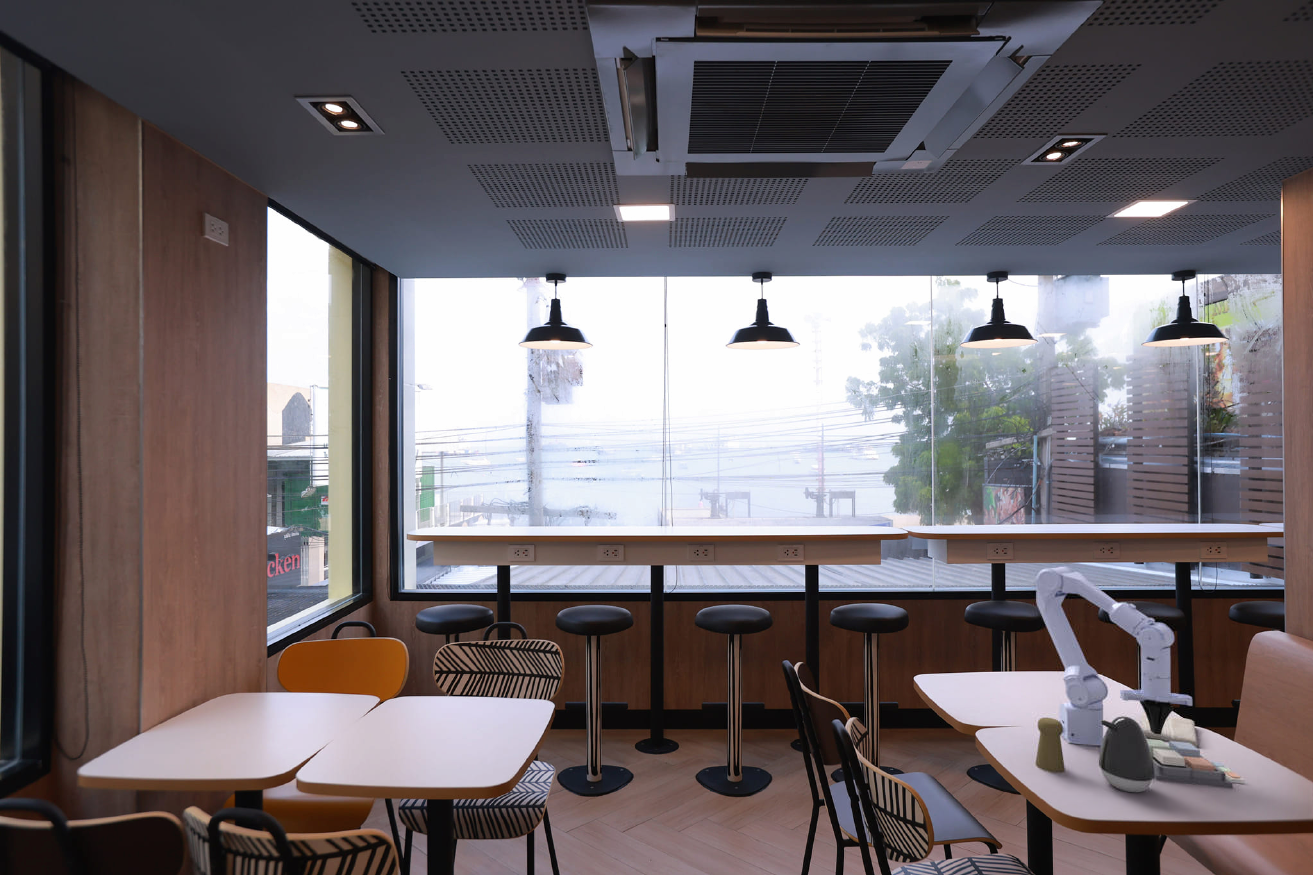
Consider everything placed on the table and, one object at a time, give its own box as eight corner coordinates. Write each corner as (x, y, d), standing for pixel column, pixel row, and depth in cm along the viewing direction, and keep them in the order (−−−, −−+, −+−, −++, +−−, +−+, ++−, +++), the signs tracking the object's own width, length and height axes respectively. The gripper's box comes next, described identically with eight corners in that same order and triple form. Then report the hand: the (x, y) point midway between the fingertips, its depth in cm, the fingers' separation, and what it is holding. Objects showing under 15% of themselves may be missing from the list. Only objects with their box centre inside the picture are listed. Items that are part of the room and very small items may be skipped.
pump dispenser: (1088, 775, 160) (1088, 708, 160) (1134, 777, 159) (1134, 709, 160) (1116, 797, 149) (1116, 725, 150) (1165, 798, 149) (1165, 726, 149)
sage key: (1149, 753, 166) (1149, 745, 166) (1141, 746, 170) (1141, 738, 170) (1170, 755, 165) (1170, 747, 165) (1161, 747, 169) (1161, 740, 169)
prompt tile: (1231, 782, 158) (1231, 777, 158) (1208, 765, 166) (1208, 760, 166) (1243, 783, 157) (1243, 778, 157) (1219, 766, 166) (1219, 761, 166)
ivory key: (1162, 764, 160) (1162, 756, 160) (1153, 756, 164) (1153, 748, 164) (1184, 766, 159) (1184, 758, 159) (1174, 758, 163) (1174, 750, 163)
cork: (1061, 763, 166) (1061, 716, 166) (1067, 774, 160) (1067, 725, 160) (1033, 759, 168) (1033, 713, 168) (1038, 770, 162) (1038, 721, 162)
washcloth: (1193, 728, 191) (1193, 716, 191) (1199, 750, 176) (1199, 737, 176) (1140, 718, 198) (1140, 707, 198) (1142, 738, 183) (1142, 726, 183)
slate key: (1178, 756, 164) (1178, 748, 165) (1168, 748, 169) (1168, 740, 169) (1199, 758, 164) (1199, 750, 164) (1189, 750, 168) (1189, 742, 168)
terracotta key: (1192, 772, 159) (1192, 764, 159) (1182, 763, 163) (1182, 756, 163) (1214, 774, 158) (1214, 766, 158) (1203, 765, 162) (1203, 758, 162)
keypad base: (1156, 779, 158) (1156, 768, 158) (1126, 752, 173) (1126, 742, 173) (1232, 787, 155) (1232, 775, 155) (1195, 759, 170) (1195, 748, 170)
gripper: (1129, 677, 165) (1129, 735, 165) (1199, 682, 163) (1199, 742, 162) (1116, 669, 172) (1116, 724, 172) (1183, 673, 169) (1183, 730, 169)
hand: (1155, 732), depth 167 cm, fingers closed
